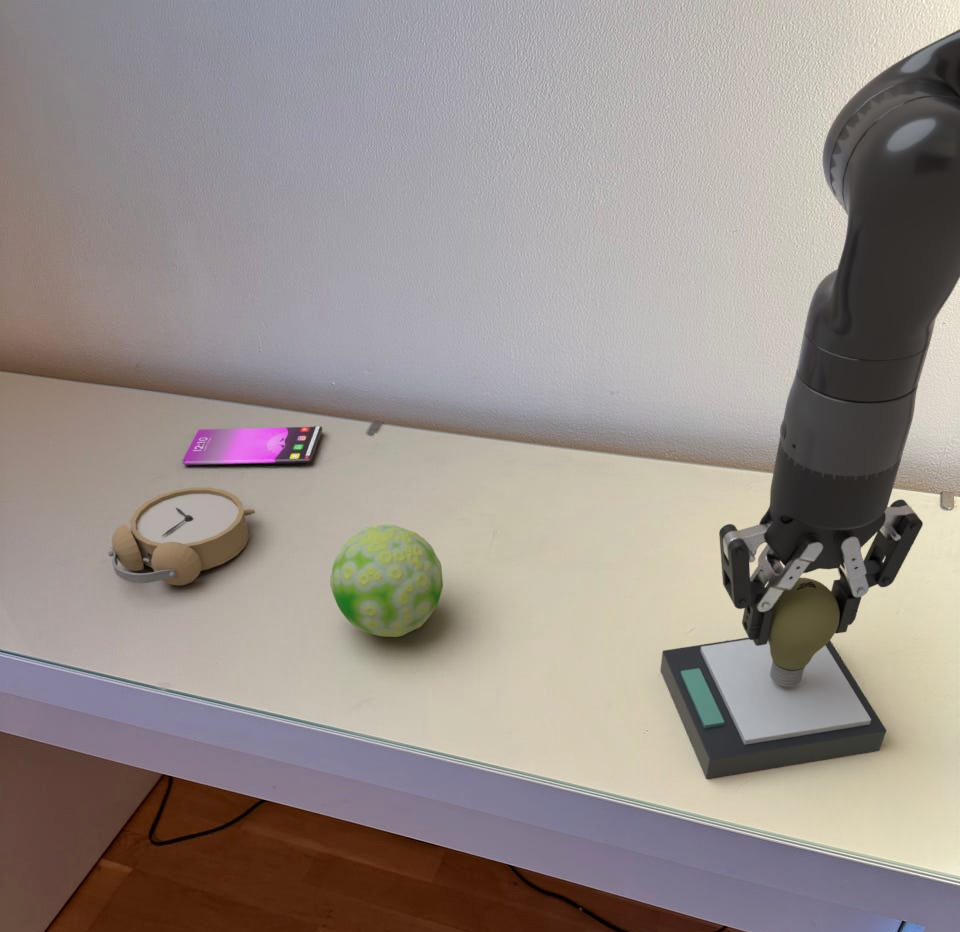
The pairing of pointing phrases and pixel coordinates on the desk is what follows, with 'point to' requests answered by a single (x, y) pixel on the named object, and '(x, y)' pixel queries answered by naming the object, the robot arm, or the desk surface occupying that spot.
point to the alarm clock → (180, 535)
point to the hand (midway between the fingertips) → (796, 631)
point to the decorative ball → (387, 580)
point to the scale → (766, 708)
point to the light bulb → (800, 628)
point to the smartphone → (253, 446)
